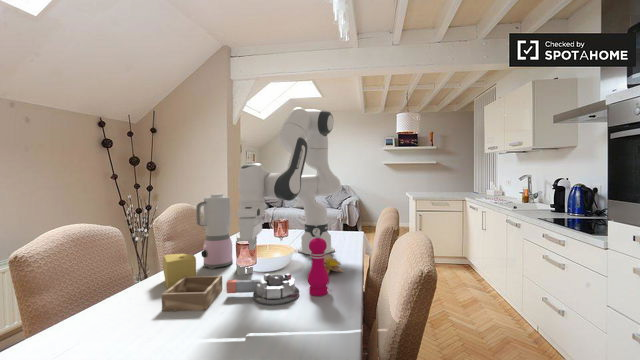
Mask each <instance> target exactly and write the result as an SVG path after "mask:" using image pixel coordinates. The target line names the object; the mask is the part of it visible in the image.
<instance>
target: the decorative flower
mask: <svg viewBox="0 0 640 360" xmlns="http://www.w3.org/2000/svg"><path fill="white" fill-rule="evenodd" d="M340 265H342V263H341V262H340V261H338V260H337V259H336V258H333V256H332V255H330V254H329V253H327V254H325V257H324V266H325V269H326V271H327V273H328V275H329V274H330V272H331V271H332V272H336V273H337V272H338V273H339V272H340V273H342V272H343V273H344V272H345V269H344V268H341V266H340Z"/></svg>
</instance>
